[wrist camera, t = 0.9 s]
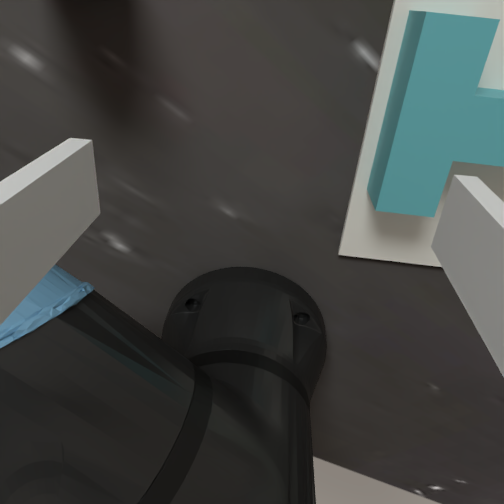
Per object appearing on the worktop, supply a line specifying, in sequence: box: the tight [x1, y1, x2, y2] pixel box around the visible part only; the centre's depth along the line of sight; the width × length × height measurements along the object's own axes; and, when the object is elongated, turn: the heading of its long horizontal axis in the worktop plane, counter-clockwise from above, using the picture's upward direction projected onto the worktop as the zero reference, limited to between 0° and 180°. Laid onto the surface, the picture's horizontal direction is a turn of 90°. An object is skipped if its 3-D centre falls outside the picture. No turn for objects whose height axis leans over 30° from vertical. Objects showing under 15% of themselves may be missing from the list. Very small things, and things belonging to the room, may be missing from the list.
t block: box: [367, 10, 504, 218], centre depth 29 cm, size 12×12×4 cm
